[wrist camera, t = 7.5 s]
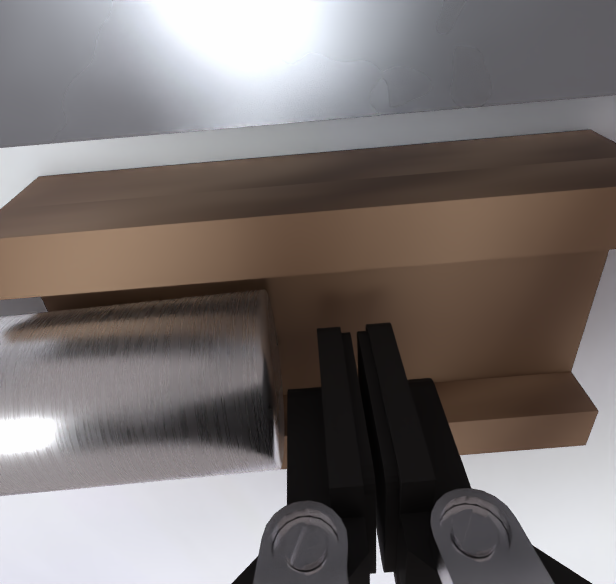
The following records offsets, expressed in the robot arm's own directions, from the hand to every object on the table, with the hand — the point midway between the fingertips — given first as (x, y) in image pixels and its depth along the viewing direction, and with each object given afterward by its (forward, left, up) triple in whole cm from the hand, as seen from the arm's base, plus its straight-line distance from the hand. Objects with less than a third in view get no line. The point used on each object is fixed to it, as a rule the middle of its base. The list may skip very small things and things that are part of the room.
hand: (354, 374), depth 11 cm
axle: (+9, 0, -2) cm, 9 cm away
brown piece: (+1, 0, -4) cm, 4 cm away
